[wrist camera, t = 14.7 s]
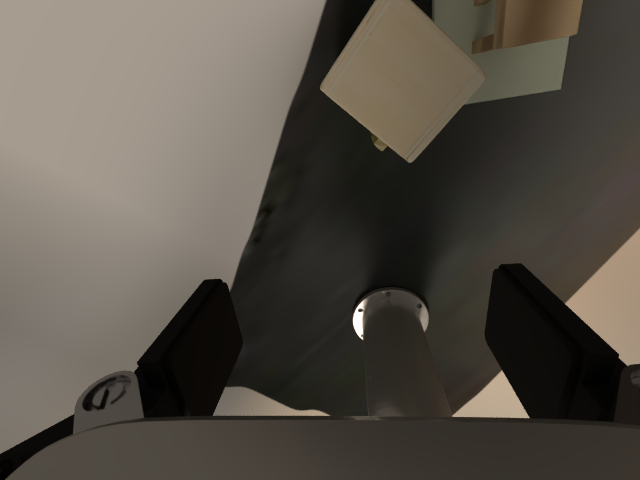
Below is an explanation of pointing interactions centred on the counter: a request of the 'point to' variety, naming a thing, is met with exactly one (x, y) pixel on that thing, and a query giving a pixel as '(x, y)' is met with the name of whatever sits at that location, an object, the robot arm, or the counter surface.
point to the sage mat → (501, 52)
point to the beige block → (402, 77)
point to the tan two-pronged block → (529, 22)
